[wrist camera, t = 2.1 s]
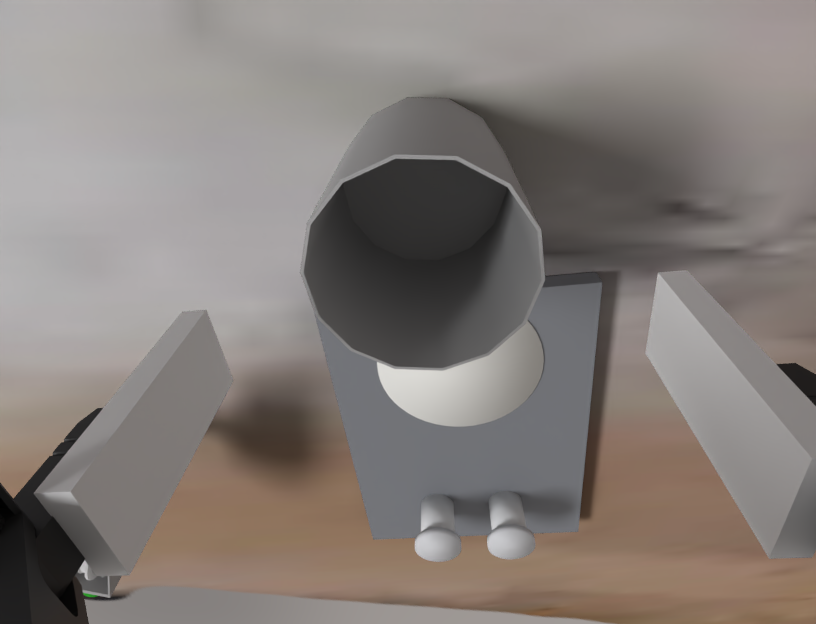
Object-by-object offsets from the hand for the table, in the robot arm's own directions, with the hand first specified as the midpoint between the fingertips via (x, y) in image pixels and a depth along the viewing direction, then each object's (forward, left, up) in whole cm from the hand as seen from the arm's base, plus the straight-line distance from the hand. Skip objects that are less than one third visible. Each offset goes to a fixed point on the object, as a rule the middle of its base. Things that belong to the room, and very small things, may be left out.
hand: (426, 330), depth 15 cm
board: (+17, +1, -13) cm, 21 cm away
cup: (0, 0, -13) cm, 13 cm away
